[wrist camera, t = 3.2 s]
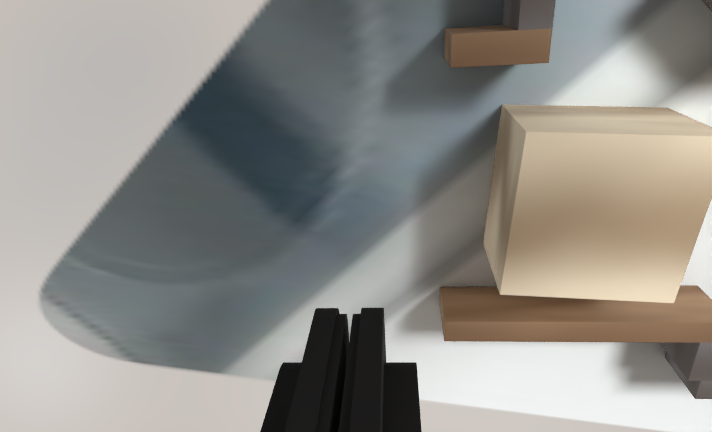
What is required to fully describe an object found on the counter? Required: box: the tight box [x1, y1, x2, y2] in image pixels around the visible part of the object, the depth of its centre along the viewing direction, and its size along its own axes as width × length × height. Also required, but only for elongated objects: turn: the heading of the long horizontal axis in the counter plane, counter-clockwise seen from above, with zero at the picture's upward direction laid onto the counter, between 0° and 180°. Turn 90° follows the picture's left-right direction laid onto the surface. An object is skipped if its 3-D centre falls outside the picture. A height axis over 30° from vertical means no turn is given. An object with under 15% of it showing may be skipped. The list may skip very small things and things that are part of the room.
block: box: [483, 105, 712, 303], centre depth 17 cm, size 6×6×4 cm
